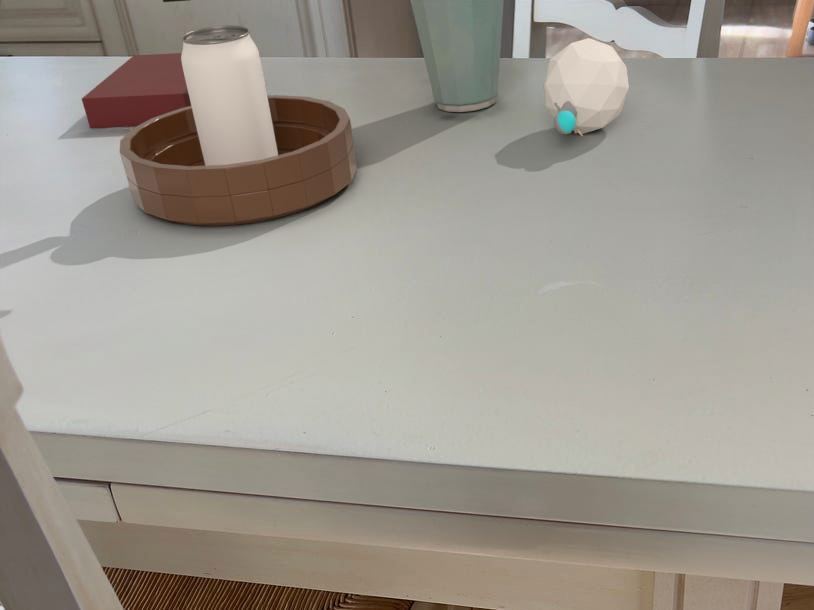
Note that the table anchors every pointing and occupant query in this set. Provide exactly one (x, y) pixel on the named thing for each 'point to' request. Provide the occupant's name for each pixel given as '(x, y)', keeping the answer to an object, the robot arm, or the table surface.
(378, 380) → the table surface
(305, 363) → the table surface
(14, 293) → the table surface
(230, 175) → the bowl
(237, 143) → the can
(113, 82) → the book
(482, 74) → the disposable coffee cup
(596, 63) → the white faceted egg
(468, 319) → the table surface
